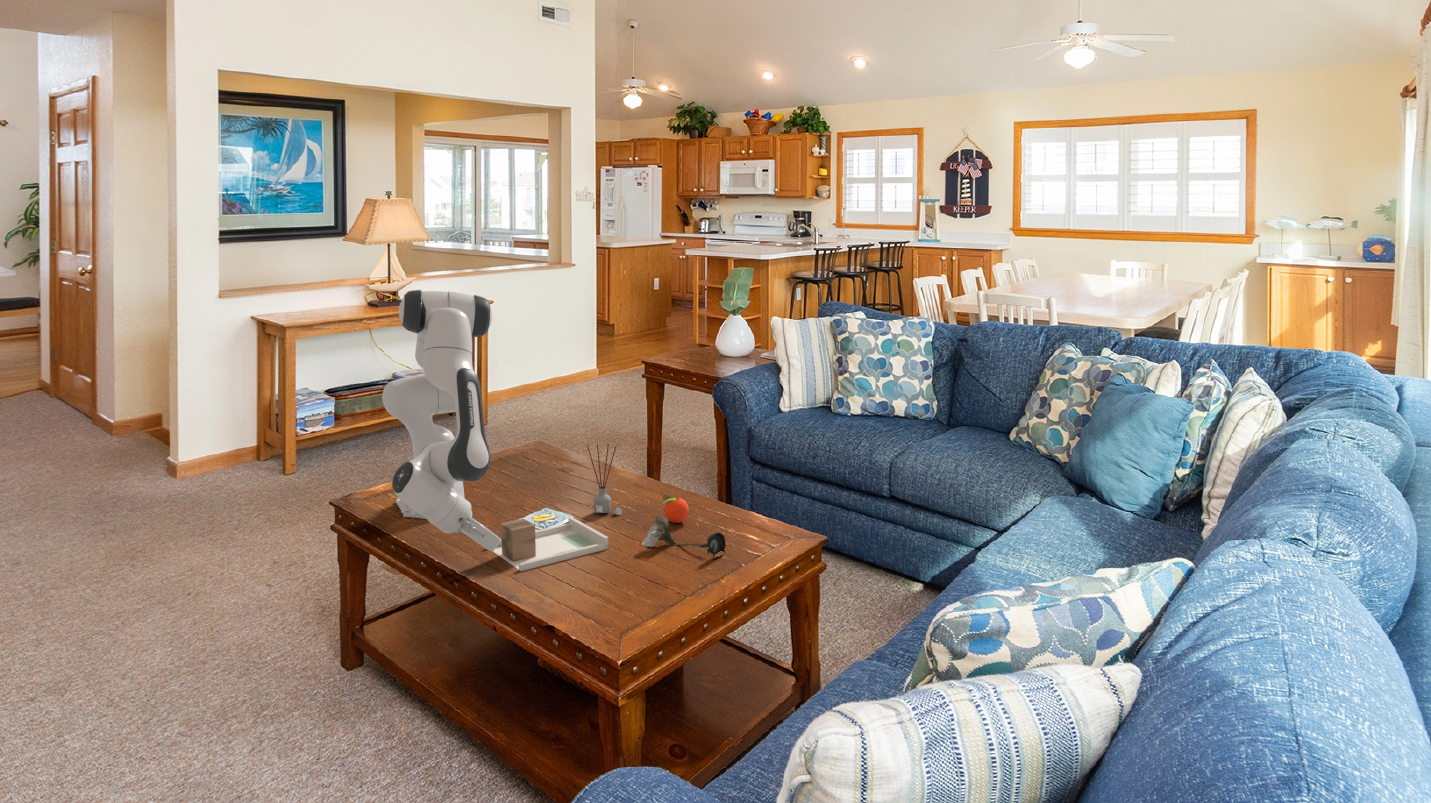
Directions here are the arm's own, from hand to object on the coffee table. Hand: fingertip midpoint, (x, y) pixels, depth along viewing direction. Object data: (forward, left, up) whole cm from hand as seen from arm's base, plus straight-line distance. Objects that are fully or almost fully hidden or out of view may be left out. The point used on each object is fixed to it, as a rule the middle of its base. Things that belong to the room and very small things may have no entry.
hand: (493, 544), depth 218 cm
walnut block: (0, +7, -4) cm, 8 cm away
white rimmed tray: (0, +15, -6) cm, 16 cm away
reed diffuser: (-18, +43, -6) cm, 47 cm away
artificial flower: (+17, +43, -6) cm, 47 cm away
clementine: (0, +54, -6) cm, 54 cm away
